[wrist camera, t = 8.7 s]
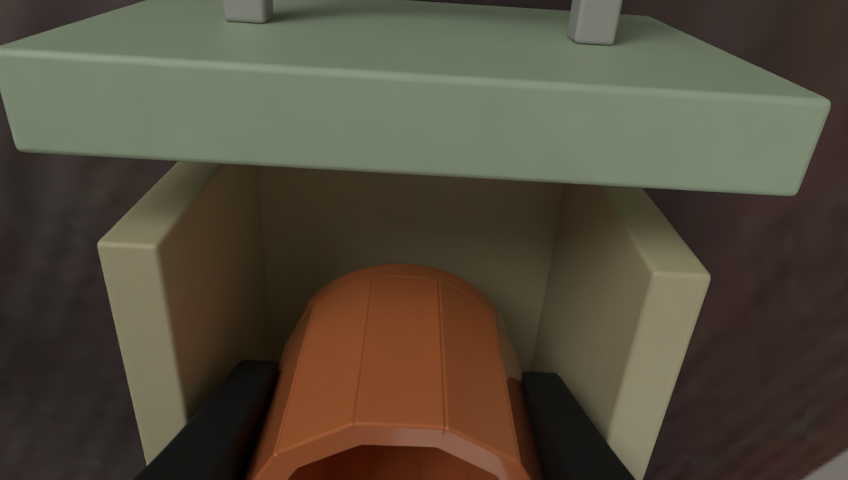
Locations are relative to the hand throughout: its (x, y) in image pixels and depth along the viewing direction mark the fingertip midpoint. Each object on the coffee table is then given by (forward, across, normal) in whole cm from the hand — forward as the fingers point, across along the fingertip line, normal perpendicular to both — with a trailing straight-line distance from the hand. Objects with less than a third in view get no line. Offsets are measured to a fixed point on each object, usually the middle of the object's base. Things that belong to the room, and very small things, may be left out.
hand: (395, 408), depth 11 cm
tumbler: (+1, 0, 0) cm, 1 cm away
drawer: (+5, 0, -4) cm, 6 cm away
